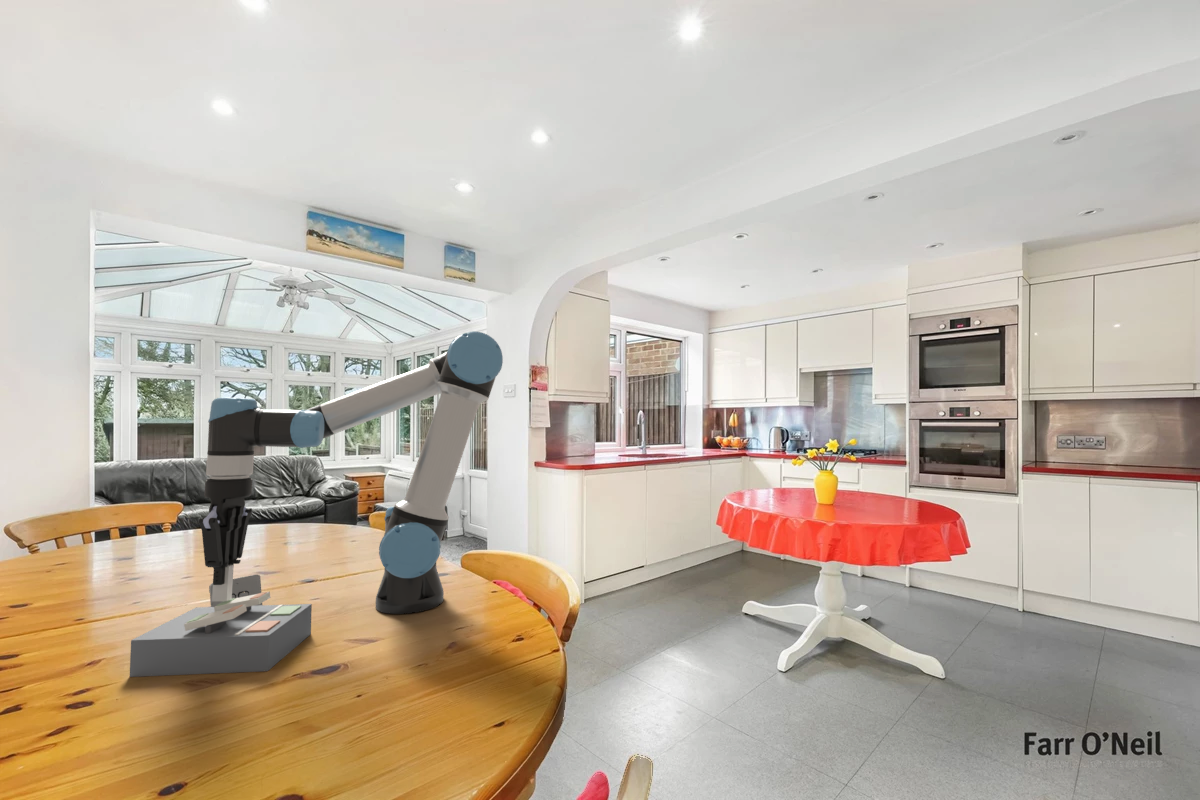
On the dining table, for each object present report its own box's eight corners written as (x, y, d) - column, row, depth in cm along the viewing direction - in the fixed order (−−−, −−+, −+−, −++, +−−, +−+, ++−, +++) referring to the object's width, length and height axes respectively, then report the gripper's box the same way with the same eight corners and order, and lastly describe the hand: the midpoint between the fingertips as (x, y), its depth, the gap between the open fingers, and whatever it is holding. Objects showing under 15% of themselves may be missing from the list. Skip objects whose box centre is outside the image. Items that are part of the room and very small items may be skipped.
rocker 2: (270, 597, 103) (269, 590, 103) (259, 604, 99) (258, 597, 99) (228, 606, 102) (227, 599, 102) (214, 613, 98) (213, 606, 98)
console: (310, 634, 105) (311, 597, 105) (267, 671, 89) (269, 628, 90) (194, 638, 103) (196, 601, 103) (129, 676, 87) (131, 633, 88)
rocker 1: (246, 610, 95) (245, 603, 95) (233, 618, 91) (231, 611, 91) (201, 622, 94) (199, 614, 94) (185, 630, 90) (183, 623, 90)
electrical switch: (212, 631, 107) (212, 584, 108) (204, 627, 110) (205, 582, 111) (263, 618, 114) (263, 574, 115) (255, 615, 118) (255, 572, 119)
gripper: (229, 473, 108) (222, 589, 106) (185, 479, 95) (176, 612, 93) (268, 474, 108) (261, 589, 107) (229, 480, 95) (220, 611, 94)
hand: (221, 600), depth 100 cm, fingers closed
